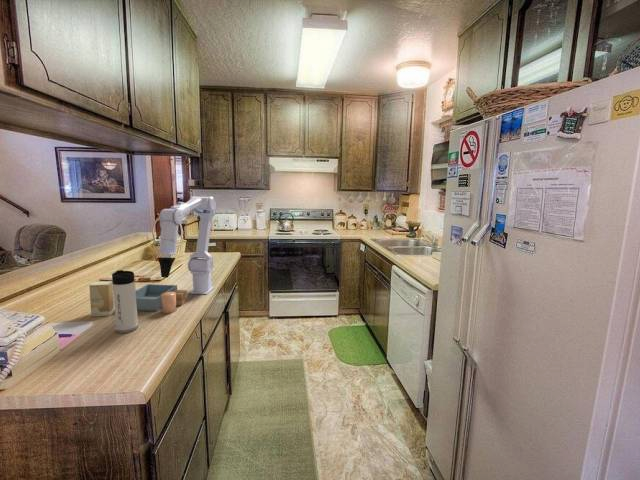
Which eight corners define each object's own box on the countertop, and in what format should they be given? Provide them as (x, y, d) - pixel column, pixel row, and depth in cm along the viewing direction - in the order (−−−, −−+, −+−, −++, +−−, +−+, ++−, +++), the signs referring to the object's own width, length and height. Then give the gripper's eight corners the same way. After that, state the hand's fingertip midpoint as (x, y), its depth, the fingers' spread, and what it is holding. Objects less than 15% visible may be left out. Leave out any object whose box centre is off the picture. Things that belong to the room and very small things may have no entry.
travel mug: (133, 323, 109) (129, 268, 105) (141, 328, 104) (137, 272, 101) (113, 328, 104) (108, 272, 100) (120, 335, 100) (115, 276, 96)
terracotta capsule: (166, 308, 122) (165, 291, 121) (178, 308, 122) (178, 291, 121) (159, 313, 117) (158, 295, 116) (172, 313, 117) (171, 296, 116)
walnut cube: (175, 301, 130) (175, 289, 129) (187, 301, 130) (187, 290, 129) (170, 305, 125) (169, 293, 124) (182, 305, 125) (181, 294, 124)
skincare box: (90, 317, 112) (87, 285, 110) (96, 312, 116) (93, 281, 114) (111, 315, 114) (108, 284, 112) (115, 311, 118) (112, 280, 116)
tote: (148, 294, 136) (147, 284, 135) (177, 295, 136) (177, 285, 135) (123, 310, 119) (122, 298, 118) (156, 311, 119) (156, 299, 118)
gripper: (157, 240, 120) (154, 274, 119) (155, 238, 107) (151, 277, 106) (177, 241, 123) (174, 275, 122) (177, 240, 110) (173, 278, 109)
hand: (165, 276), depth 114 cm, fingers open, 7 cm apart
